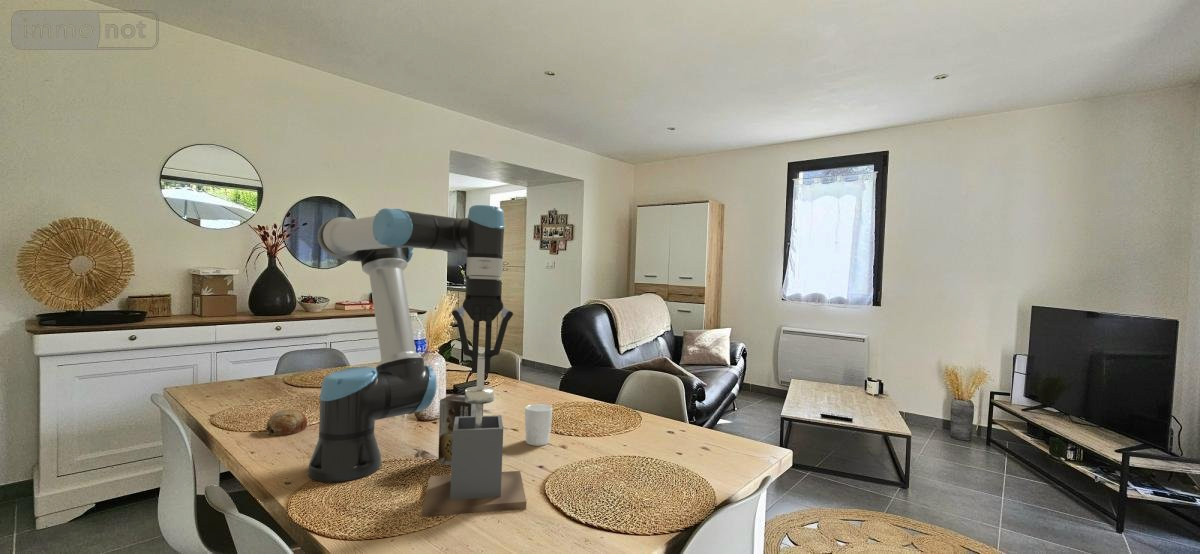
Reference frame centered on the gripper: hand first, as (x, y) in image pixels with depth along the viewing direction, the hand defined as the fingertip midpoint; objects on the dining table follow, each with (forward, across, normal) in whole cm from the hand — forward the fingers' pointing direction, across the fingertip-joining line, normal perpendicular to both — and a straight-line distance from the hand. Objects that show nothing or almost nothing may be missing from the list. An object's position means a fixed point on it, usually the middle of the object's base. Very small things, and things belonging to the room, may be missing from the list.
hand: (480, 388), depth 102 cm
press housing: (+21, 0, 0) cm, 21 cm away
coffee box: (+23, -4, +20) cm, 31 cm away
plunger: (+16, 0, 0) cm, 16 cm away
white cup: (+23, +17, +32) cm, 43 cm away
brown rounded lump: (+23, -54, +53) cm, 79 cm away
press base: (+23, 0, 0) cm, 23 cm away
